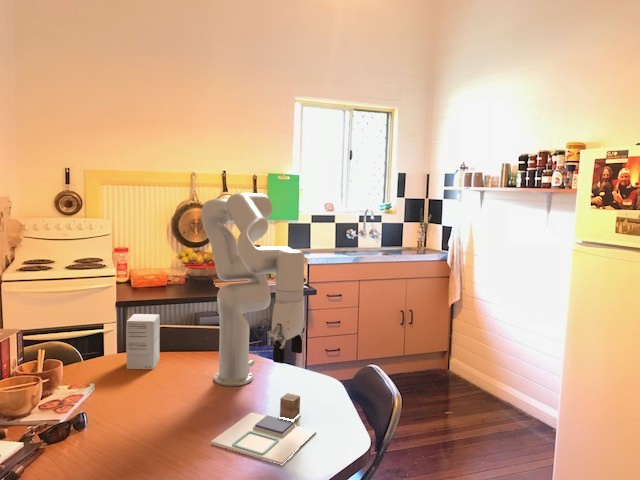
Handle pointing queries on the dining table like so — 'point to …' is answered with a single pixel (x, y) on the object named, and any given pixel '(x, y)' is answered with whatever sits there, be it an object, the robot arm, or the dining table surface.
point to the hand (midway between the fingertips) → (287, 357)
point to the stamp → (289, 406)
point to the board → (262, 437)
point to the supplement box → (143, 341)
